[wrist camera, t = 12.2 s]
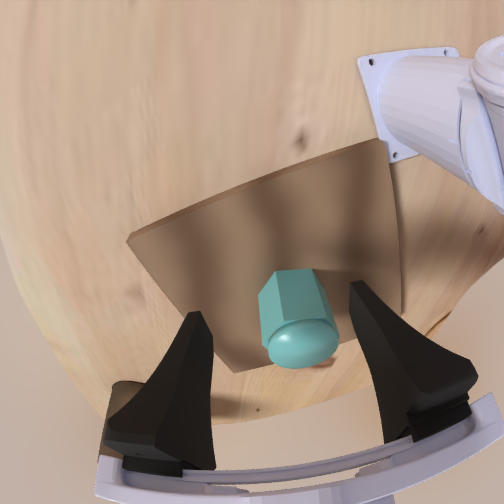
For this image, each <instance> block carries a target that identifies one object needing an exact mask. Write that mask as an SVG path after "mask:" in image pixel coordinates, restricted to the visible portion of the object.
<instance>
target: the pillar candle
mask: <svg viewBox="0 0 504 504" xmlns="http://www.w3.org/2000/svg"><path fill="white" fill-rule="evenodd" d="M143 385H144V384H140V383H134V382H129V381H120V382H116V383H115V384H113V386H112V393H111V397H110V401H109V406H108V409H107V414H106V419H105V424H104V428H103V433H102V439H101V443H100V450H99V456H100V455H105V456H110V457H115V458H119V459H122V460H123V456H124V455H122V454H120V453H118V452H116V451H114V450H113V449H111V448H109V447H107V446H106V445H105V444H104V443H103V438H104V433H105V428H106V423H107V420H108V419H109V418H110V417H111V416H113V415H114V414H115V413H116V412H118V411H119V410H120V409H121V408H122V407H123V406H124V405H126V404H127V403H128V402H129V401H130V400H131V399H132V398H133V397H134V396H135V395H136V394H137V392H138V391H139V390H140V389H141V388H142V387H143ZM99 456H98V462H99Z"/></svg>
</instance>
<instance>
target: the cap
mask: <svg viewBox="0 0 504 504" xmlns="http://www.w3.org/2000/svg"><path fill="white" fill-rule="evenodd" d="M258 300H259V312H260V324H261V336H262V345H263V346H264V347H265V348H266V349H267V350H268V353H269V358H270V360H271V361H272V362H273V363H275V364H276V365H278V366H281V367H284V368H292V369H298V368H306V367H310V366H314V365H316V364H319V363H321V362H323V361H325V360H326V359H328V358H329V357H330V356H331V355H332V354H333V353H334V352H335V351H336V349H337V347H338V339H339V338H340V335H339V331H338V328H337V325H336V322H335V319H334V316H333V313H332V310H331V307H330V304H329V301H328V298H327V295H326V292H325V289H324V288H323V286H322V285H321V283H320V281H319V280H318V278H317V277H316V275H315V273H314V272H313V270H312V269H297V270H282V271H275V272H274V274H273V275H272V276H271V278H270V279H269V281H268V282H267V283H266V285H265V286H264V288H263V289H262V290H261V292H260V293H259V294H258Z"/></svg>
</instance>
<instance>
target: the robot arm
mask: <svg viewBox="0 0 504 504" xmlns="http://www.w3.org/2000/svg"><path fill="white" fill-rule="evenodd" d="M444 51H445V53H446V55H445V54H444ZM369 59H371V60H372V61H373V65H372V66H371V65H370V64H369ZM357 66H358V68H359V71H360V74H361V77H362V81H363V84H364V87H365V90H366V93H367V97H368V100H369V104H370V107H371V111H372V115H373V118H374V122H375V126H376V130H377V135H378V139H380V140H382V141H384V142H385V147H386V152H387V157H388V162H389V163H393V162H397V161H400V160H403V159H406V158H409V157H413V156H416V155H419V154H421V155H423V156H424V157H426V158H428V159H430V160H431V161H433V162H434V163H436V164H438V165H439V166H441V167H443V168H444V169H446V170H447V171H449V172H450V173H452V174H453V175H455V176H456V177H458V178H459V179H461V180H462V181H464V182H465V183H467V184H468V185H470V186H471V187H472V188H474V189H475V190H476V191H478V192H479V193H481V194H482V195H483V196H484V197H486V198H487V199H488V200H490V201H492V202H493V204H494V208H495V209H496V210H497V211H499V212H500V213H501V214H502V215H503V216H504V35H502V36H498V37H496V38H493V39H491V40H489V41H487V42H485V43H484V44H482V45H481V46H480V47H479V48H478V50H477V51H476V54H475V56H474V58H473V59H471V58H461V57H459V53H458V51H457V49H456V48H455V47H437V48H422V49H411V50H402V51H394V52H387V53H380V54H374V55H368V56H363V57H360V58H358V60H357ZM395 152H396V156H395V157H393V154H394V153H395ZM349 314H350V317H351V321H352V325H353V328H354V331H355V333H356V336H357V338H358V341H359V343H360V346H361V348H362V351H363V353H364V356H365V358H366V361H367V363H368V366H369V369H370V372H371V375H372V379H373V383H374V387H375V391H376V396H377V400H378V405H379V411H380V416H381V423H382V430H383V436H384V445H381V446H378V447H374V448H371V449H367V450H364V451H360V452H357V453H353V454H349V455H345V456H340V457H336V458H332V459H327V460H322V461H316V462H311V463H305V464H299V465H293V466H285V467H275V468H265V469H252V470H230V471H229V470H225V471H214V470H215V469H216V462H215V455H214V448H213V439H212V428H211V411H210V392H211V380H212V369H213V357H214V347H213V335H212V333H211V331H210V329H209V327H208V325H207V323H206V321H205V319H204V317H203V315H202V313H201V311H193V312H188V314H187V315H186V317H185V319H184V321H183V323H182V325H181V327H180V329H179V331H178V333H177V335H176V337H175V338H174V340H173V342H172V344H171V346H170V347H169V349H168V351H167V353H166V354H165V356H164V357H163V359H162V361H161V362H160V364H159V365H158V367H157V368H156V370H155V371H154V373H153V374H152V375H151V377H150V378H149V379H148V380H147V382H146V383H145V384H144V385H143V387H142V388H141V389H140V390H139V391H138V392H137V394H136V395H135V396H134V397H133V398H132V399H131V400H130V401H129V402H128V403H127V404H126V405H124V406H123V407H122V408H121V409H120V410H119V411H118V412H116V413H115V414H114V415H113V416H111V417H110V418H109V419H108V420H107V423H106V428H105V433H104V438H103V443H104V444H105V445H106V446H107V447H109V448H111V449H113V450H114V451H116V452H118V453H120V454H122V455H124V456H123V460H122V459H119V458H115V457H110V456H105V455H100V456H99V462H98V469H97V475H96V483H95V490H94V495H95V496H98V497H102V498H105V499H108V500H111V501H115V502H118V503H122V504H395V501H394V496H393V494H394V493H396V492H399V491H402V490H405V489H407V488H410V487H412V486H414V485H417V484H419V483H422V482H424V481H426V480H428V479H430V478H433V477H435V476H437V475H439V474H440V473H443V472H445V471H447V470H449V469H450V468H453V467H454V466H456V465H458V464H459V463H462V462H463V461H465V460H467V459H469V458H470V457H472V456H474V455H475V454H477V453H478V452H480V451H482V450H483V449H485V448H486V447H488V446H489V445H491V444H492V443H494V442H495V441H497V440H498V439H500V438H501V437H502V436H504V422H503V419H502V416H501V414H500V411H499V409H498V406H497V404H496V401H495V399H494V397H493V394H492V393H491V392H490V393H488V394H487V395H485V396H483V397H482V398H480V399H478V400H477V401H475V402H473V403H472V404H470V405H469V404H468V401H467V400H469V396H468V393H467V392H468V391H469V390H470V389H471V388H472V386H473V385H474V384H475V383H476V381H477V379H478V374H477V372H476V370H475V368H474V366H473V364H472V363H471V361H470V360H469V359H467V358H464V357H462V356H460V355H457V354H455V353H453V352H451V351H449V350H447V349H445V348H443V347H441V346H440V345H438V344H436V343H435V342H433V341H431V340H430V339H428V338H427V337H425V336H424V335H422V334H421V333H419V332H418V331H417V330H415V329H414V328H413V327H411V326H410V325H409V324H408V323H406V322H405V321H404V320H403V319H402V318H401V317H399V316H398V315H397V314H396V313H395V312H394V311H393V310H392V309H391V308H390V307H389V306H387V305H386V304H385V303H384V302H383V301H382V300H381V299H380V298H379V297H378V296H377V295H376V294H375V292H374V291H373V290H372V289H371V288H370V287H369V286H368V285H367V284H366V283H365V282H364V281H363V280H358V281H354V282H350V294H349ZM387 458H388V459H387ZM384 459H385V460H384ZM381 460H382V461H381ZM378 461H380V462H378ZM375 462H377V463H375ZM371 463H375V464H372V465H369V466H366V467H364V468H361V469H360V470H359V472H358V473H357V474H355V478H351V479H347V480H341V481H336V482H331V483H326V484H320V485H314V486H307V487H300V488H293V489H285V490H276V491H265V492H252V493H249V491H248V490H243V489H238V488H236V487H231V486H214V485H211V484H216V485H217V484H218V485H230V484H231V485H235V484H257V483H271V482H282V481H290V480H298V479H304V478H310V477H316V476H322V475H327V474H331V473H336V472H341V471H344V470H349V469H353V468H357V467H361V466H364V465H368V464H371Z"/></svg>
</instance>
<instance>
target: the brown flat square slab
mask: <svg viewBox="0 0 504 504" xmlns="http://www.w3.org/2000/svg"><path fill="white" fill-rule="evenodd" d="M126 243H127V244H128V246H129V247H130V249H131V250H132V251H133V253H134V254H135V256H136V257H137V258H138V260H139V261H140V262H141V264H142V265H143V266H144V268H145V269H146V270H147V272H148V273H149V274H150V276H151V277H152V278H153V280H154V281H155V282H156V283H157V285H158V286H159V287H160V289H161V290H162V291H163V292H164V294H165V295H166V296H167V297H168V299H169V300H170V301H171V302H172V304H173V305H174V306H175V307H176V308H177V310H178V311H179V312H180V313H181V314H182V316H183V317H184V318H185V317H186V315H187V314H188V312H193V311H201V313H202V315H203V317H204V319H205V321H206V323H207V325H208V327H209V329H210V331H211V333H212V335H213V347H214V352H215V353H216V355H217V356H218V357H219V358H220V359H221V360H222V361H223V362H224V363H225V364H226V365H227V366H228V367H229V368H230V370H231V371H232V372H233V373H238V372H242V371H247V370H251V369H255V368H259V367H263V366H267V365H271V364H275V363H273V362H272V361H271V360H270V358H269V353H268V350H267V349H266V348H265V347H264V346H263V345H262V336H261V324H260V312H259V300H258V294H259V293H260V292H261V290H262V289H263V288H264V286H265V285H266V283H267V282H268V281H269V279H270V278H271V276H272V275H273V274H274V272H275V271H282V270H297V269H312V270H313V272H314V273H315V275H316V277H317V278H318V280H319V281H320V283H321V285H322V286H323V288H324V289H325V292H326V295H327V298H328V301H329V304H330V307H331V310H332V313H333V316H334V319H335V322H336V325H337V328H338V331H339V335H340V338H339V339H338V345H339V344H342V343H344V342H347V341H350V340H353V339H356V338H357V336H356V333H355V331H354V328H353V325H352V321H351V317H350V314H349V294H350V282H354V281H358V280H363V281H364V282H365V283H366V284H367V285H368V286H369V287H370V288H371V289H372V290H373V291H374V292H375V294H376V295H377V296H378V297H379V298H380V299H381V300H382V301H383V302H384V303H385V304H386V305H387V306H389V307H390V308H391V309H392V310H393V311H394V312H395V313H396V314H397V315H398V316H399V317H401V269H400V250H399V237H398V226H397V216H396V208H395V200H394V193H393V186H392V179H391V173H390V168H389V162H388V157H387V152H386V147H385V142H384V141H382V140H380V139H378V138H375V139H371V140H368V141H365V142H361V143H358V144H355V145H352V146H348V147H345V148H342V149H339V150H336V151H333V152H330V153H327V154H324V155H321V156H318V157H315V158H312V159H309V160H306V161H303V162H300V163H298V164H295V165H292V166H289V167H286V168H284V169H281V170H278V171H276V172H273V173H270V174H268V175H265V176H262V177H260V178H257V179H255V180H252V181H249V182H247V183H244V184H242V185H239V186H237V187H234V188H232V189H229V190H227V191H224V192H222V193H220V194H217V195H215V196H212V197H210V198H208V199H205V200H203V201H201V202H198V203H196V204H194V205H191V206H189V207H187V208H185V209H182V210H180V211H178V212H176V213H173V214H171V215H169V216H167V217H165V218H163V219H160V220H158V221H156V222H154V223H152V224H150V225H148V226H145V227H143V228H141V229H139V230H137V231H135V232H133V233H131V234H130V235H129V237H128V239H127V241H126Z"/></svg>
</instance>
